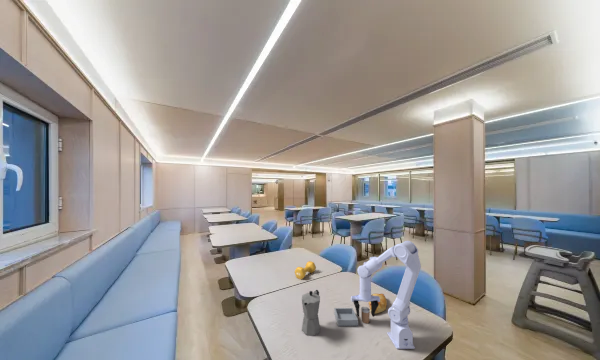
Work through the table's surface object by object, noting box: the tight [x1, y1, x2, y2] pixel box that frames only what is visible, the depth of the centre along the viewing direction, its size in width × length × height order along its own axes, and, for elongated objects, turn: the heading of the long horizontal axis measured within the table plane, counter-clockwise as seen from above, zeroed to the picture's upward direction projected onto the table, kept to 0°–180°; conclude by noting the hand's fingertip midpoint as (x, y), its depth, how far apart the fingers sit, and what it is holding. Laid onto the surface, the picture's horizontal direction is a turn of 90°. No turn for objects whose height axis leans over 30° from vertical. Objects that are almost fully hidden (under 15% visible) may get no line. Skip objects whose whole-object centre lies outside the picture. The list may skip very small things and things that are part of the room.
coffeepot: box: [301, 289, 321, 337], centre depth 99 cm, size 15×9×18 cm, turn 151°
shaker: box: [360, 306, 371, 325], centre depth 105 cm, size 4×4×6 cm
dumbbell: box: [294, 260, 317, 280], centre depth 159 cm, size 19×9×8 cm, turn 143°
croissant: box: [368, 293, 388, 314], centre depth 117 cm, size 21×10×8 cm, turn 144°
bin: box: [333, 307, 359, 327], centre depth 105 cm, size 10×10×3 cm
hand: (365, 315), depth 105 cm, fingers open, 7 cm apart
